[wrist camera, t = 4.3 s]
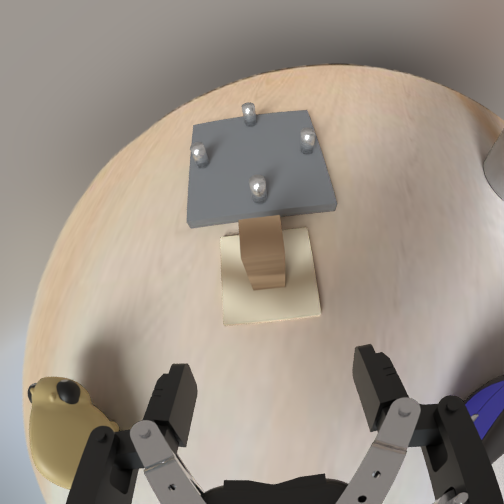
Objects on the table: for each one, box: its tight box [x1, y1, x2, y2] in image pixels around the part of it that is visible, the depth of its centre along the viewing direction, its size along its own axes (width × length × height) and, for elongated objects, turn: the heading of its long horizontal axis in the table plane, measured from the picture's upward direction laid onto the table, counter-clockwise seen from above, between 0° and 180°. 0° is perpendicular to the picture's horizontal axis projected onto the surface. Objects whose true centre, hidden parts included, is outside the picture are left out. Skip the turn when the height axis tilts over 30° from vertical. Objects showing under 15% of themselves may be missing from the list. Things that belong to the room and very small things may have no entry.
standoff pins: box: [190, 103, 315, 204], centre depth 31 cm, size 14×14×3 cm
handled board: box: [220, 215, 321, 326], centre depth 24 cm, size 9×9×9 cm
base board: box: [187, 110, 337, 228], centre depth 33 cm, size 16×16×2 cm
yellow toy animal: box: [28, 377, 119, 490], centre depth 17 cm, size 10×12×11 cm
